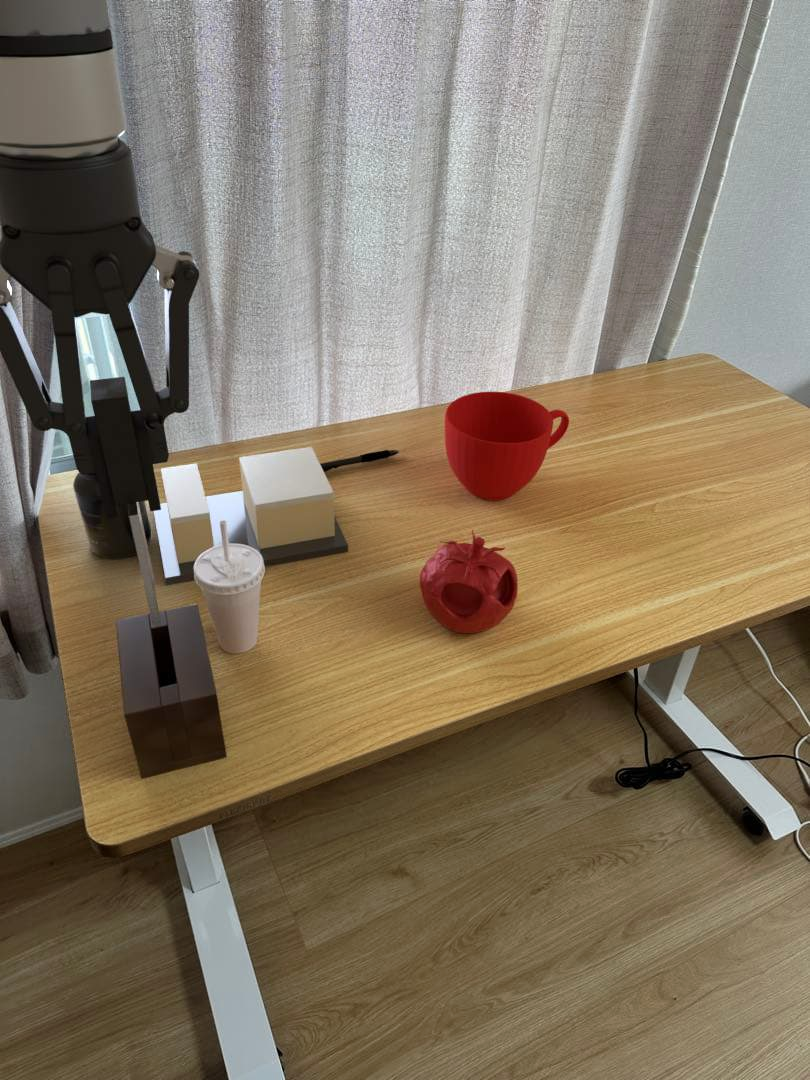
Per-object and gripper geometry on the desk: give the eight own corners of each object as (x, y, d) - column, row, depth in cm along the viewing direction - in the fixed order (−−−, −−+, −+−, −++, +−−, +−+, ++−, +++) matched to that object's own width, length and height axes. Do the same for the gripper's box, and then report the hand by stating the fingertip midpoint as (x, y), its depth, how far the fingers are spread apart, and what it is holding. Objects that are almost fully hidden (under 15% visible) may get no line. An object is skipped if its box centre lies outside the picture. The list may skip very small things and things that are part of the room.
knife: (141, 626, 60) (92, 412, 49) (135, 576, 65) (88, 370, 54) (171, 620, 61) (129, 407, 50) (163, 571, 65) (123, 366, 54)
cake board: (166, 585, 85) (164, 578, 85) (153, 511, 96) (152, 504, 95) (348, 551, 91) (348, 544, 90) (317, 485, 101) (317, 478, 101)
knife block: (141, 778, 66) (123, 714, 61) (131, 683, 74) (115, 619, 69) (226, 757, 68) (216, 693, 63) (208, 666, 76) (197, 603, 71)
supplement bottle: (125, 517, 95) (106, 427, 87) (165, 538, 92) (148, 448, 84) (76, 545, 90) (51, 453, 83) (116, 569, 87) (93, 476, 80)
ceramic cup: (588, 494, 102) (602, 424, 96) (472, 525, 96) (479, 453, 89) (531, 445, 111) (541, 378, 105) (422, 471, 105) (426, 402, 99)
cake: (259, 549, 89) (255, 505, 85) (243, 499, 96) (238, 457, 93) (334, 536, 91) (333, 492, 88) (313, 488, 99) (311, 446, 95)
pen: (299, 479, 102) (299, 472, 101) (295, 473, 103) (295, 465, 102) (401, 459, 106) (401, 452, 106) (396, 453, 108) (396, 445, 107)
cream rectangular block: (178, 563, 87) (170, 518, 83) (168, 511, 94) (160, 468, 90) (215, 557, 88) (209, 512, 84) (203, 506, 95) (196, 463, 91)
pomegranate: (405, 589, 86) (408, 518, 80) (491, 572, 89) (500, 503, 83) (437, 653, 79) (443, 581, 73) (530, 633, 81) (542, 562, 76)
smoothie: (264, 612, 82) (254, 500, 74) (277, 656, 78) (267, 541, 69) (201, 624, 81) (182, 511, 72) (209, 669, 76) (190, 554, 67)
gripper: (192, 122, 48) (231, 460, 62) (-96, 131, 43) (18, 492, 58) (211, 151, 42) (249, 515, 57) (-117, 164, 38) (15, 554, 52)
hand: (132, 502), depth 57 cm, fingers closed on knife, 2 cm apart
